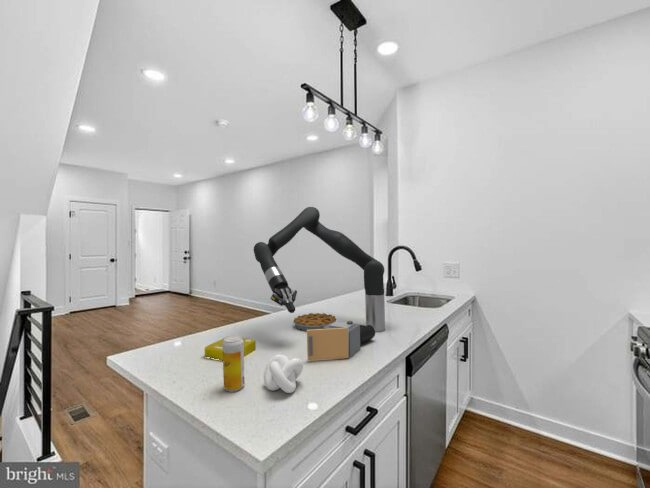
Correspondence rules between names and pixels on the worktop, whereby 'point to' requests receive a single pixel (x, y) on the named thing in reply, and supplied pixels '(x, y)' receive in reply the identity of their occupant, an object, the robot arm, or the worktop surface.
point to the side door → (328, 343)
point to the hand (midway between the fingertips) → (292, 311)
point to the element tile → (217, 348)
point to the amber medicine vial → (233, 363)
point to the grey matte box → (353, 334)
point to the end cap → (366, 333)
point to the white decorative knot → (282, 373)
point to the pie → (313, 321)
